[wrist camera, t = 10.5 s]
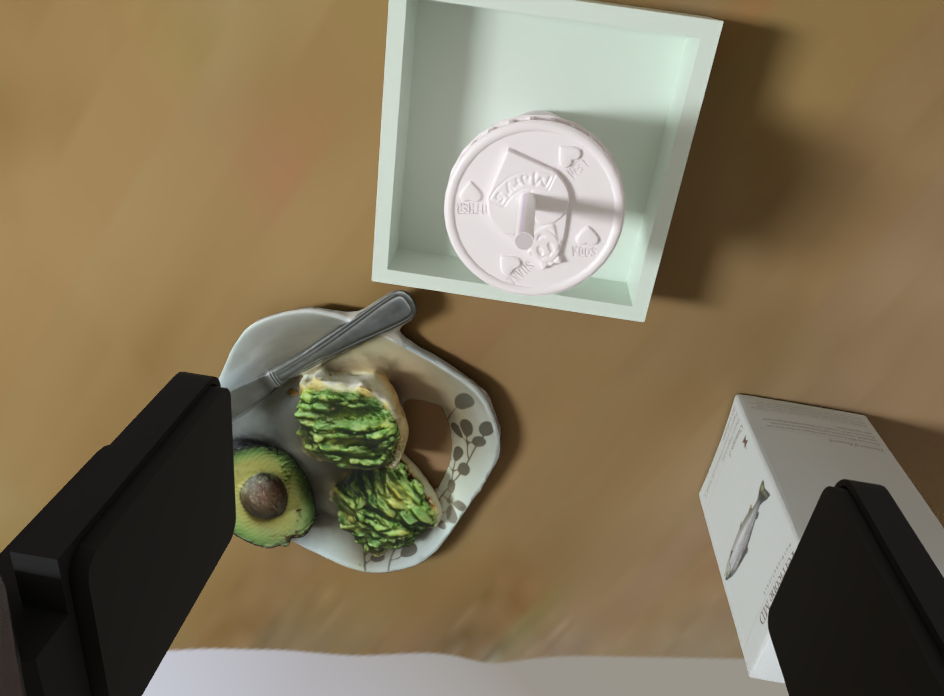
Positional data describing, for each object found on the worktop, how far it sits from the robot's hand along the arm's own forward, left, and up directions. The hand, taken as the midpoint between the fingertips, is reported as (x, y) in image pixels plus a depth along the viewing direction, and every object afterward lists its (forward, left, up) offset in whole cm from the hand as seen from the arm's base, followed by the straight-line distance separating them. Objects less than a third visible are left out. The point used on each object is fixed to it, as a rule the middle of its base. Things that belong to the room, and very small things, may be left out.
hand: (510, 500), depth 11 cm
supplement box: (-16, +15, -26) cm, 34 cm away
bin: (0, 0, -26) cm, 26 cm away
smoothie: (0, 0, -25) cm, 25 cm away
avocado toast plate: (+9, +19, -26) cm, 34 cm away
